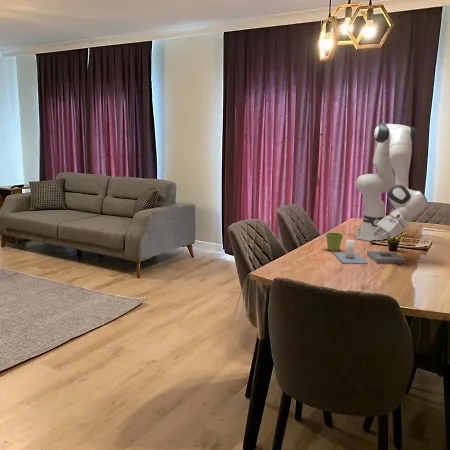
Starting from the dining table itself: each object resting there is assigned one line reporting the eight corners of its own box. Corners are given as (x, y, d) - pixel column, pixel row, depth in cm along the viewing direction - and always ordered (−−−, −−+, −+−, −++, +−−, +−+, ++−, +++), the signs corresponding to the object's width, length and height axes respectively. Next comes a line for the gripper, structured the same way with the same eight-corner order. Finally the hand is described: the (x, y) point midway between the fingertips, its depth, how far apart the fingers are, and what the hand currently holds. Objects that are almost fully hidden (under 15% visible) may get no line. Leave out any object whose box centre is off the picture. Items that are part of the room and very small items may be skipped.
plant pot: (343, 248, 257) (344, 233, 255) (341, 252, 248) (342, 236, 247) (325, 247, 260) (326, 231, 258) (323, 251, 251) (324, 235, 250)
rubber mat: (333, 253, 246) (333, 252, 246) (356, 253, 246) (356, 252, 246) (342, 263, 227) (342, 262, 226) (367, 264, 227) (367, 262, 226)
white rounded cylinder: (343, 256, 239) (344, 239, 237) (353, 256, 239) (354, 239, 237) (346, 258, 234) (347, 241, 233) (355, 258, 234) (356, 241, 233)
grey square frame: (366, 255, 244) (367, 250, 244) (394, 255, 244) (394, 251, 244) (379, 265, 224) (380, 261, 223) (409, 266, 224) (409, 261, 223)
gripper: (387, 209, 243) (366, 227, 245) (402, 217, 223) (379, 237, 225) (395, 218, 244) (374, 236, 246) (410, 227, 224) (387, 246, 226)
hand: (376, 237), depth 236 cm, fingers open, 8 cm apart
